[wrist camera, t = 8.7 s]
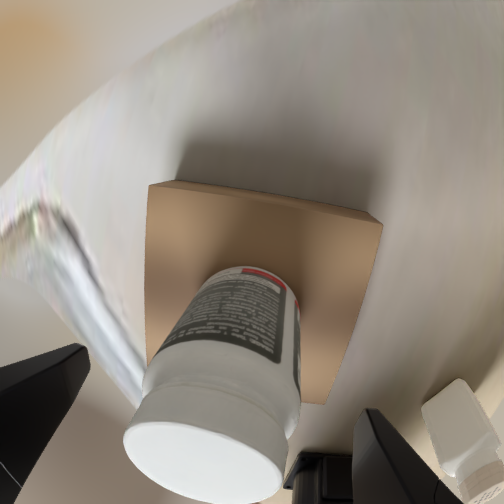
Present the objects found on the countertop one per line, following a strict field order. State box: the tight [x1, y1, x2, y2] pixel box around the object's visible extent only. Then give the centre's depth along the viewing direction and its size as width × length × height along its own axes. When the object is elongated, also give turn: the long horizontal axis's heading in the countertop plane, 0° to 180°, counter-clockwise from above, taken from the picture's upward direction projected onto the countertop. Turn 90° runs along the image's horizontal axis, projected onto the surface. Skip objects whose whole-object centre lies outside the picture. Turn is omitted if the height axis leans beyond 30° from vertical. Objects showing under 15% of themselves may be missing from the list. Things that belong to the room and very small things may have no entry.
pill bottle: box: [123, 266, 301, 504], centre depth 10 cm, size 5×5×8 cm
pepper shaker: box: [421, 378, 504, 504], centre depth 13 cm, size 4×4×10 cm
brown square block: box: [144, 180, 383, 405], centre depth 15 cm, size 10×10×3 cm
